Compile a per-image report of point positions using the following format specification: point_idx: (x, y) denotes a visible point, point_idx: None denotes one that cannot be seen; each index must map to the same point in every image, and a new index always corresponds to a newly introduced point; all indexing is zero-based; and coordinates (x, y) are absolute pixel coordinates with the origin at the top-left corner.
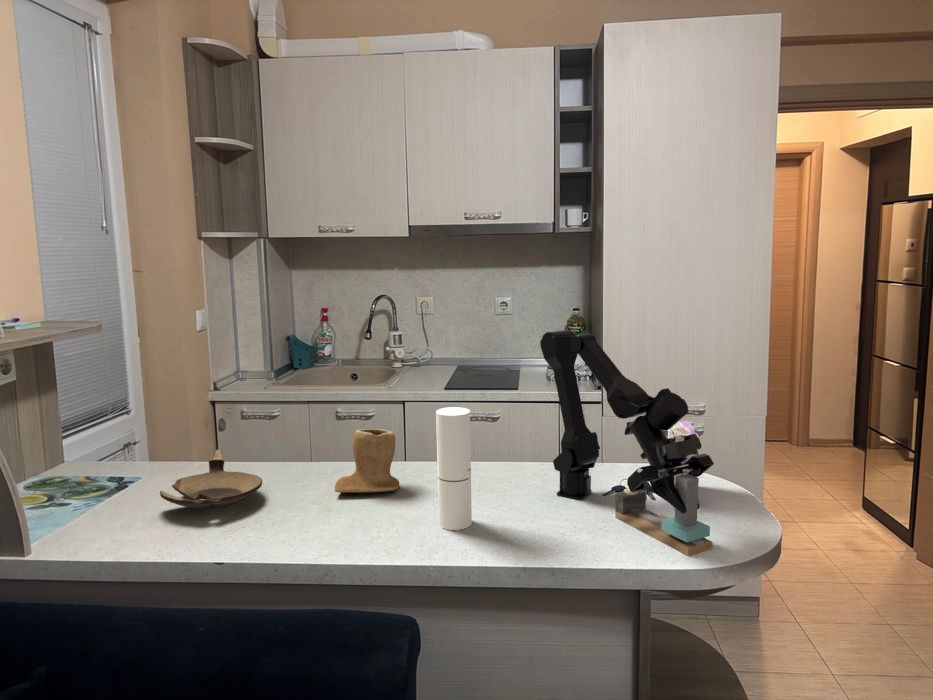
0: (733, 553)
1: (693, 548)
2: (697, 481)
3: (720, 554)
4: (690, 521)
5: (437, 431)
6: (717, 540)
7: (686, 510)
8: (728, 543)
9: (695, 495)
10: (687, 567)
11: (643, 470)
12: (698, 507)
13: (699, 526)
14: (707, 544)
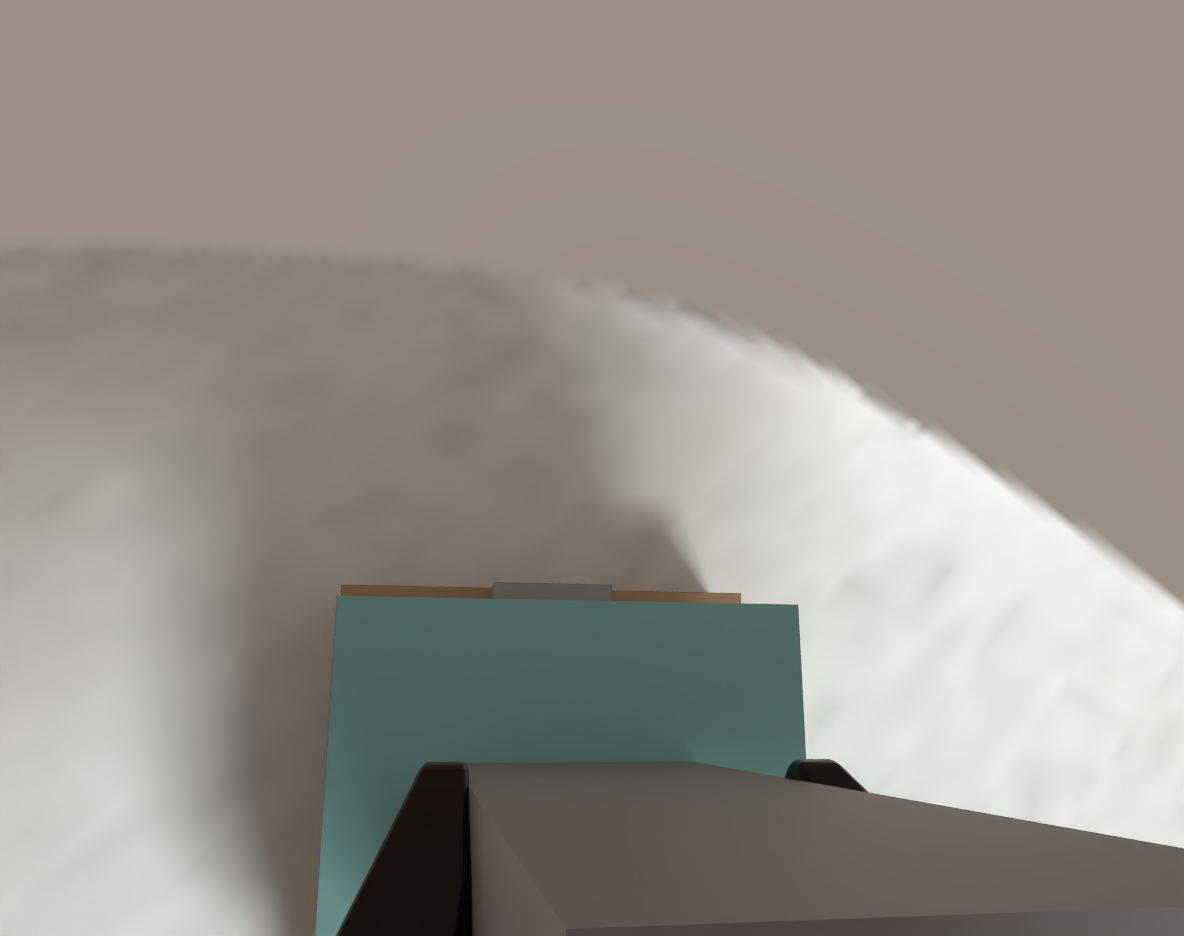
0: (237, 394)
1: (652, 592)
2: (613, 899)
3: (380, 451)
4: (610, 766)
5: None
6: (84, 733)
7: (807, 760)
8: (46, 600)
9: (600, 806)
10: (878, 431)
11: None
12: (455, 766)
13: (484, 676)
14: (425, 587)
